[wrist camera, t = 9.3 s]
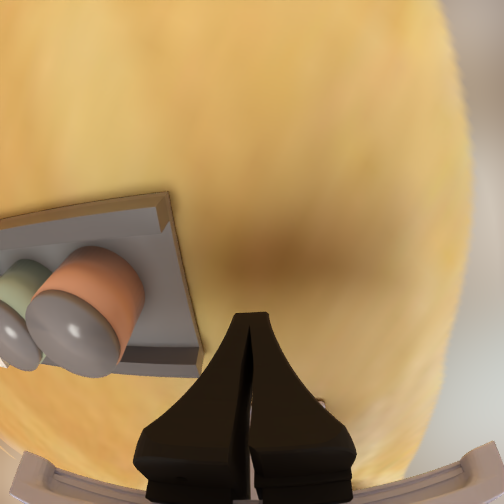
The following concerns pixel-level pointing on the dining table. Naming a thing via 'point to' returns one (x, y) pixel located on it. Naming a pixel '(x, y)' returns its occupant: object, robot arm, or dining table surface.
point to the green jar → (20, 313)
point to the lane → (142, 261)
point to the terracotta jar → (87, 311)
